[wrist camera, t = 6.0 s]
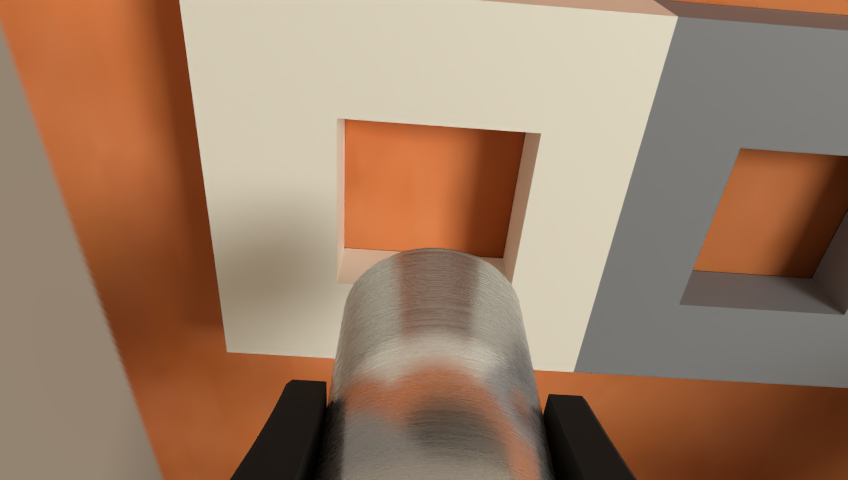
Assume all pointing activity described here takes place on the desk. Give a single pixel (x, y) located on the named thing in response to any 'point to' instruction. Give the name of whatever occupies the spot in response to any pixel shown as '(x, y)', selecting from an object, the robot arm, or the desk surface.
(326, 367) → the desk surface
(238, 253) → the dock board
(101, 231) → the desk surface
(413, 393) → the steel peg
